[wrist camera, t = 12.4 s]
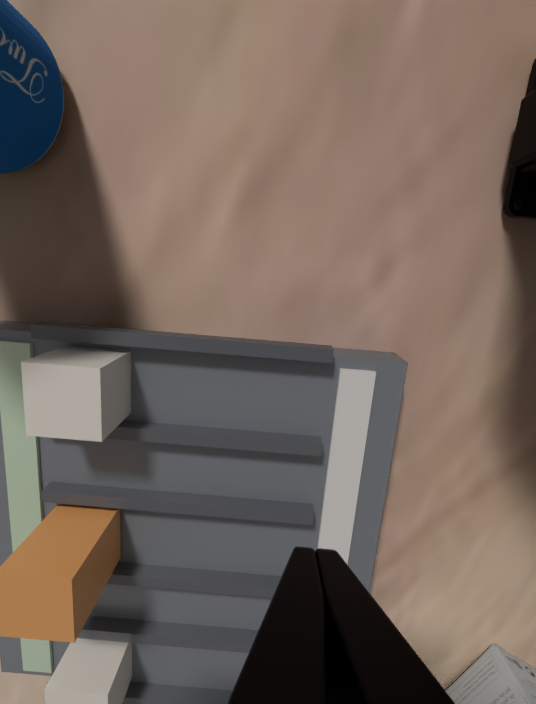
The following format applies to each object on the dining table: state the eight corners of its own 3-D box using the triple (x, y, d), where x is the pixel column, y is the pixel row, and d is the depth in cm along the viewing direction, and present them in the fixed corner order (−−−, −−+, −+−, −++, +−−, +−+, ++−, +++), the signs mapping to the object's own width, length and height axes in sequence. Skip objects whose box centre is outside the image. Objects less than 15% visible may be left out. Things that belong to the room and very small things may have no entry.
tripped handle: (120, 506, 19) (71, 580, 14) (120, 557, 19) (74, 642, 15) (60, 501, 19) (-7, 573, 14) (63, 552, 19) (0, 636, 15)
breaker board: (395, 343, 19) (438, 370, 14) (343, 672, 23) (361, 779, 18) (-3, 310, 19) (-102, 326, 14) (25, 644, 23) (-41, 743, 19)
